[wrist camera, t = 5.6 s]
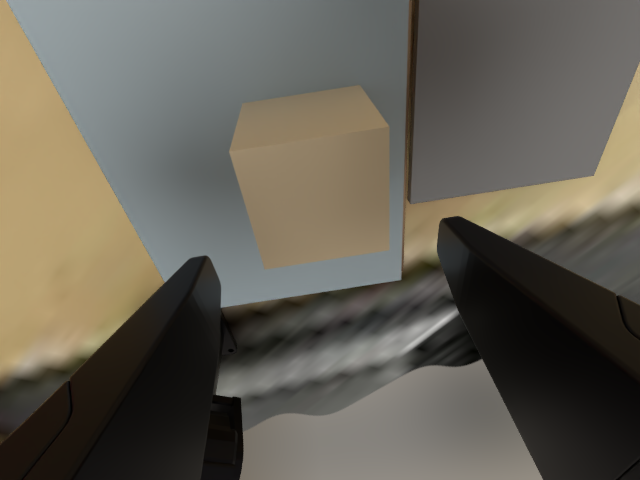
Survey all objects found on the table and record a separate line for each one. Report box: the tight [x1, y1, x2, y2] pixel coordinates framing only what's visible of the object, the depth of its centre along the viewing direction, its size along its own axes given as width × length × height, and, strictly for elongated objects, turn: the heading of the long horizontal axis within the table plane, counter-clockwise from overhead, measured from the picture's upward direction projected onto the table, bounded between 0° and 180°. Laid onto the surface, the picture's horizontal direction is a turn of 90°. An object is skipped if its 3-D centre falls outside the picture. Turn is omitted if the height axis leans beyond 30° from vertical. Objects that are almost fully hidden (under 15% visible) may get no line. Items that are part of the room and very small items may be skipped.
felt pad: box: [408, 0, 640, 204], centre depth 18 cm, size 17×12×1 cm
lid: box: [6, 0, 409, 308], centre depth 12 cm, size 15×11×6 cm
